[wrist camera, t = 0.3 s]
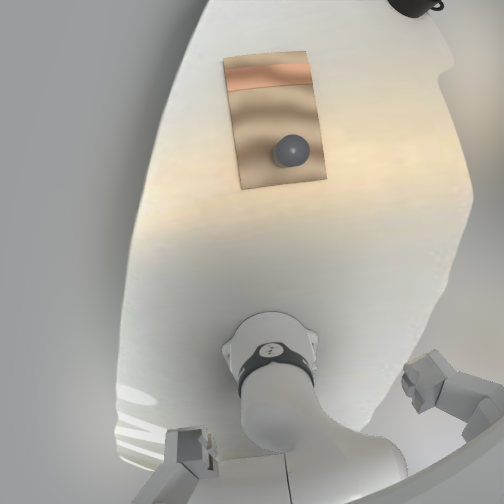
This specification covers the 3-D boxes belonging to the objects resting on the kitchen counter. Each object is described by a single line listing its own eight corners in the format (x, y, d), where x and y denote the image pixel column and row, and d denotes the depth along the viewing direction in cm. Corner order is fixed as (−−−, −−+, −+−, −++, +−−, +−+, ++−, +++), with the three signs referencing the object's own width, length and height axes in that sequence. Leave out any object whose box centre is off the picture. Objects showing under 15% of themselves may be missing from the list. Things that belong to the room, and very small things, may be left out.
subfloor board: (324, 179, 48) (327, 179, 47) (242, 189, 49) (242, 189, 47) (304, 54, 43) (306, 50, 41) (223, 61, 43) (222, 57, 41)
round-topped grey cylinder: (295, 167, 46) (311, 164, 35) (270, 170, 46) (279, 168, 35) (292, 143, 45) (307, 132, 34) (267, 145, 45) (275, 136, 34)
